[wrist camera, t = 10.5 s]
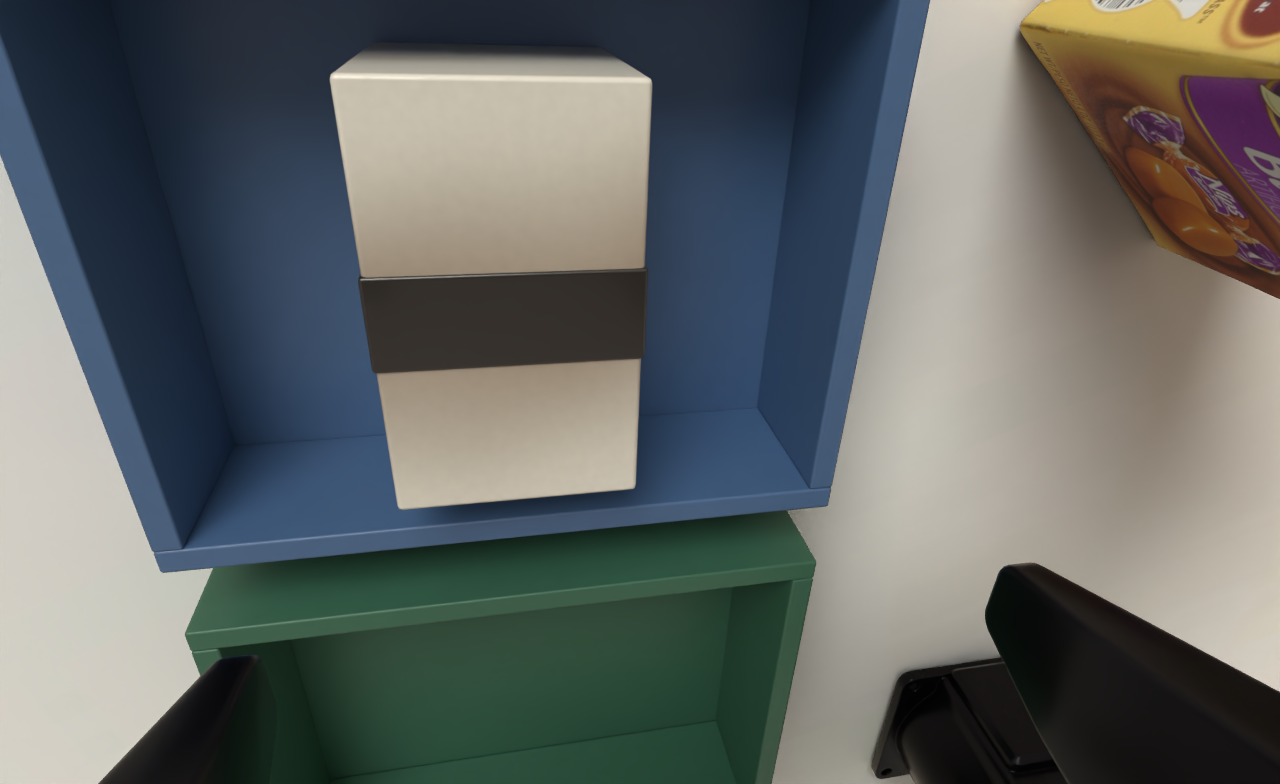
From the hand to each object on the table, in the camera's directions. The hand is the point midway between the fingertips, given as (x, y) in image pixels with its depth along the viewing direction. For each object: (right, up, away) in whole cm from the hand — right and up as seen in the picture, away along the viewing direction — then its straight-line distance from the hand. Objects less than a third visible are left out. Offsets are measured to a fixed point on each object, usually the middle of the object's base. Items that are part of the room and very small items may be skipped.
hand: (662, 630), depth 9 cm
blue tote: (-4, +7, +9) cm, 12 cm away
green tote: (-4, -5, +16) cm, 17 cm away
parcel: (-4, +7, +8) cm, 11 cm away
